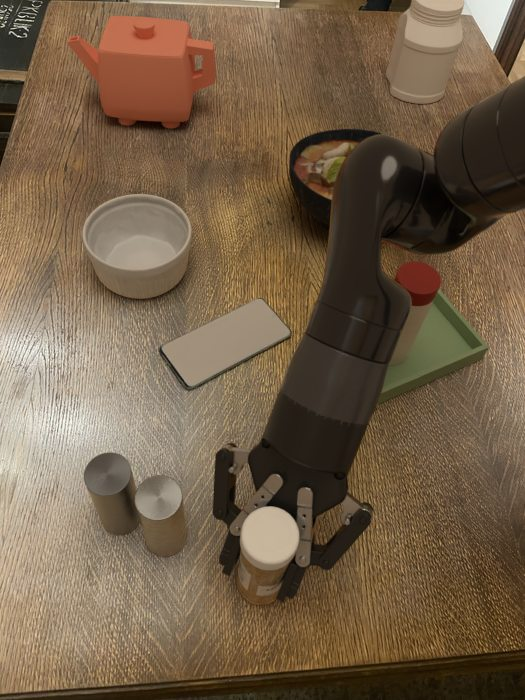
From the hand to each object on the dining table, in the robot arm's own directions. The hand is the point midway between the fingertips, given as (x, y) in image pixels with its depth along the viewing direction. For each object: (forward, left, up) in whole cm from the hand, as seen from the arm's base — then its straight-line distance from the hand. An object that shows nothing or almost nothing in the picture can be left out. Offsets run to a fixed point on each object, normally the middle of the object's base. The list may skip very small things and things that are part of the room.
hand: (255, 582), depth 51 cm
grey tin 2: (+9, +6, -6) cm, 12 cm away
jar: (+70, -60, -6) cm, 93 cm away
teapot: (+77, -13, -6) cm, 79 cm away
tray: (+20, -27, -6) cm, 35 cm away
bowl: (+44, -32, -6) cm, 55 cm away
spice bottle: (+20, -26, -5) cm, 34 cm away
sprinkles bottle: (+1, -1, -6) cm, 7 cm away
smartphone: (+28, -8, -6) cm, 30 cm away
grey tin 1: (+12, +9, -6) cm, 16 cm away
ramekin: (+43, -2, -6) cm, 44 cm away
